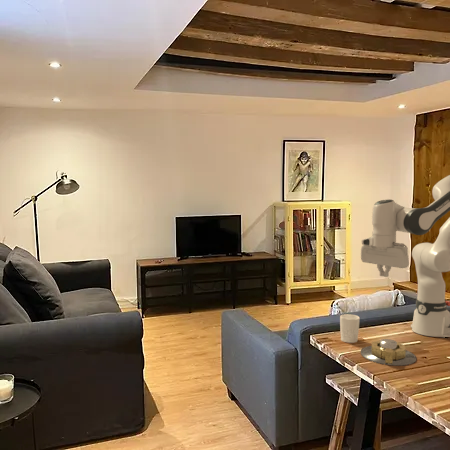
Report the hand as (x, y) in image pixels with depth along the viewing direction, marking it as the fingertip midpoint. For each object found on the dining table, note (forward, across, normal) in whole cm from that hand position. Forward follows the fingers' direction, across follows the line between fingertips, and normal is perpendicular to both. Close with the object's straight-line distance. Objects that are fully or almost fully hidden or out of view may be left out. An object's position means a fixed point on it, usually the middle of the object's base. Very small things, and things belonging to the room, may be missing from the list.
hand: (384, 276), depth 182 cm
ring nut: (+28, -8, +8) cm, 30 cm away
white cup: (+29, +14, +5) cm, 32 cm away
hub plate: (+29, -6, +6) cm, 30 cm away
